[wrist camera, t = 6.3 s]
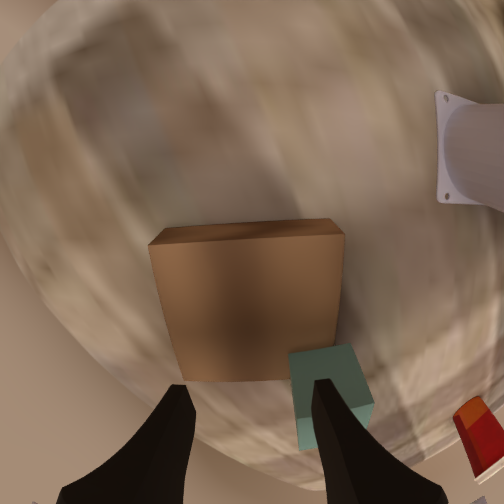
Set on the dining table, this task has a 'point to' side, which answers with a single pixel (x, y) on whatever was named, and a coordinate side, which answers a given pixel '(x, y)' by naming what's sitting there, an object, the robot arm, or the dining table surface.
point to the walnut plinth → (248, 295)
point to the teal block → (343, 377)
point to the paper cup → (480, 438)
